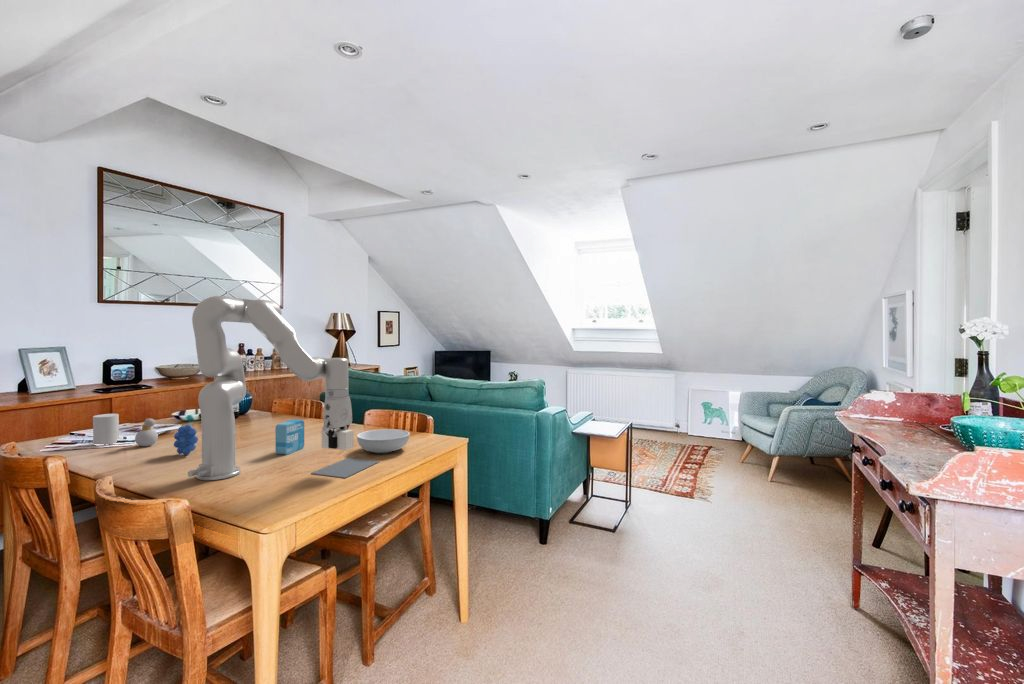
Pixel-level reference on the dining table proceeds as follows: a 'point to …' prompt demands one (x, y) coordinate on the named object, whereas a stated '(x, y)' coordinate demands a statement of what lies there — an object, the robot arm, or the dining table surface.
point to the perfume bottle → (147, 434)
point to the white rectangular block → (340, 439)
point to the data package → (289, 436)
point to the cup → (105, 428)
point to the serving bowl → (383, 440)
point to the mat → (345, 467)
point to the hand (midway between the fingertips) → (337, 445)
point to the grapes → (185, 439)
